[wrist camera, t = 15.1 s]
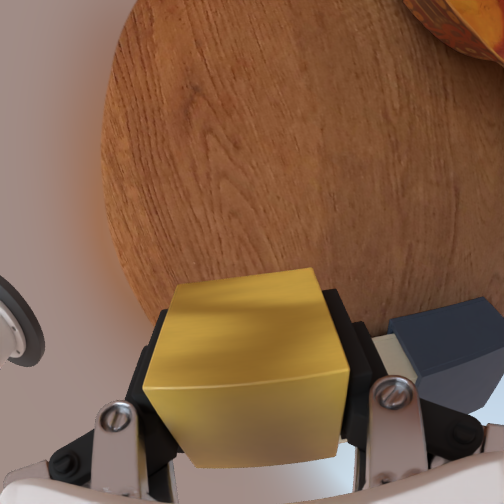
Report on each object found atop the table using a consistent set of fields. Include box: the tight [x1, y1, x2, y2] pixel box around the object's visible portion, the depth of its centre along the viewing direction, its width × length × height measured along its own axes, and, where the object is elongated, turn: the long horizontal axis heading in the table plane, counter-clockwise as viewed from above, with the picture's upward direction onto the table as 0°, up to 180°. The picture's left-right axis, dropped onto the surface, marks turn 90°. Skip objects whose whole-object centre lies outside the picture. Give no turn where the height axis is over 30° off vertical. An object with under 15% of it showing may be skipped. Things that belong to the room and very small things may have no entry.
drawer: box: [338, 333, 418, 444], centre depth 31 cm, size 20×12×8 cm, turn 97°
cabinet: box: [387, 297, 504, 414], centre depth 30 cm, size 16×14×10 cm
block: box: [143, 268, 350, 468], centre depth 9 cm, size 4×4×4 cm
